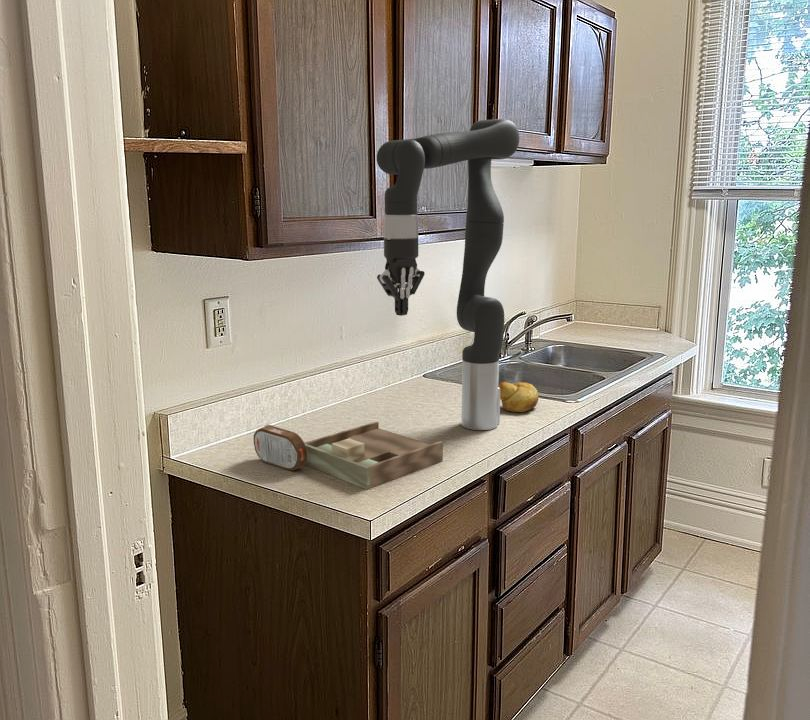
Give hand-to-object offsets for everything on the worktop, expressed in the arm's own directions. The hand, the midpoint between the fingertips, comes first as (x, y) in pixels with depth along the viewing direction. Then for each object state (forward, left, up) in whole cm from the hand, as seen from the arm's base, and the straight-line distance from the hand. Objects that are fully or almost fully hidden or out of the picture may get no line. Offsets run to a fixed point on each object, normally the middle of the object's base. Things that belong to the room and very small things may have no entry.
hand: (401, 314), depth 168 cm
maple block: (+16, 0, -29) cm, 33 cm away
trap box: (+9, 0, -32) cm, 33 cm away
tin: (+25, -13, -32) cm, 43 cm away
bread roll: (-48, -2, -32) cm, 58 cm away
